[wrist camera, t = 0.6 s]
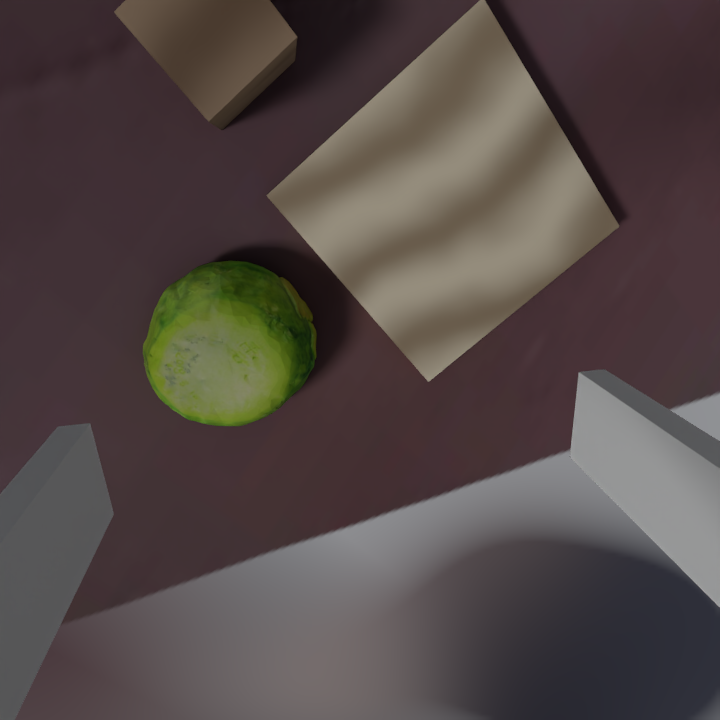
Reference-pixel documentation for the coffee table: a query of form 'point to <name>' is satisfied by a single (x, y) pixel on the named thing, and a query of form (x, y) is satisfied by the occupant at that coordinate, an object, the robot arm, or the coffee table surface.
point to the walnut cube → (214, 48)
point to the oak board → (448, 196)
